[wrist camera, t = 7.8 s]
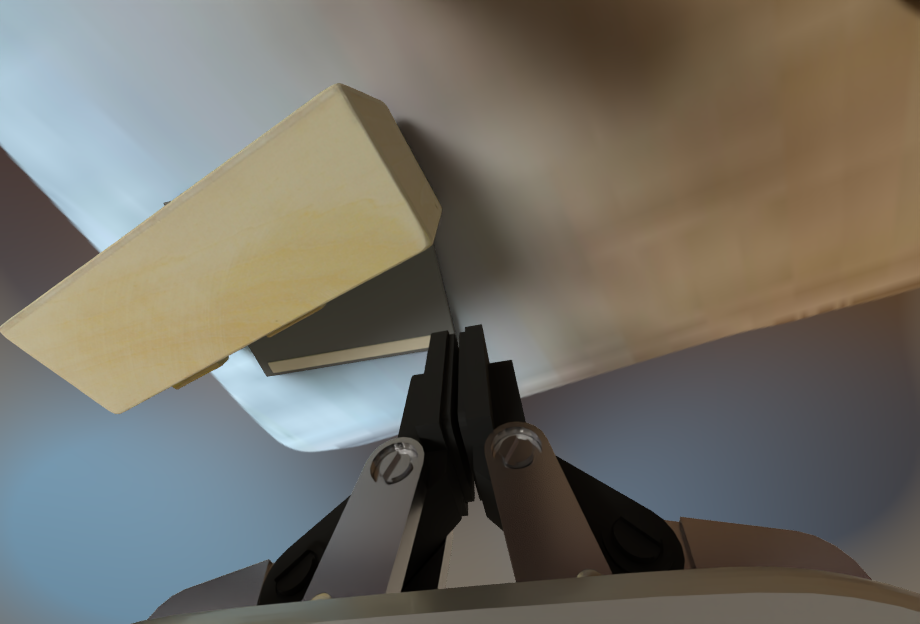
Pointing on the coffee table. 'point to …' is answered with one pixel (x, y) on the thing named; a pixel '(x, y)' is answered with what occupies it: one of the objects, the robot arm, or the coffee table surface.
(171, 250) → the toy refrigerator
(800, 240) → the coffee table surface
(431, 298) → the mat
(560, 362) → the coffee table surface
